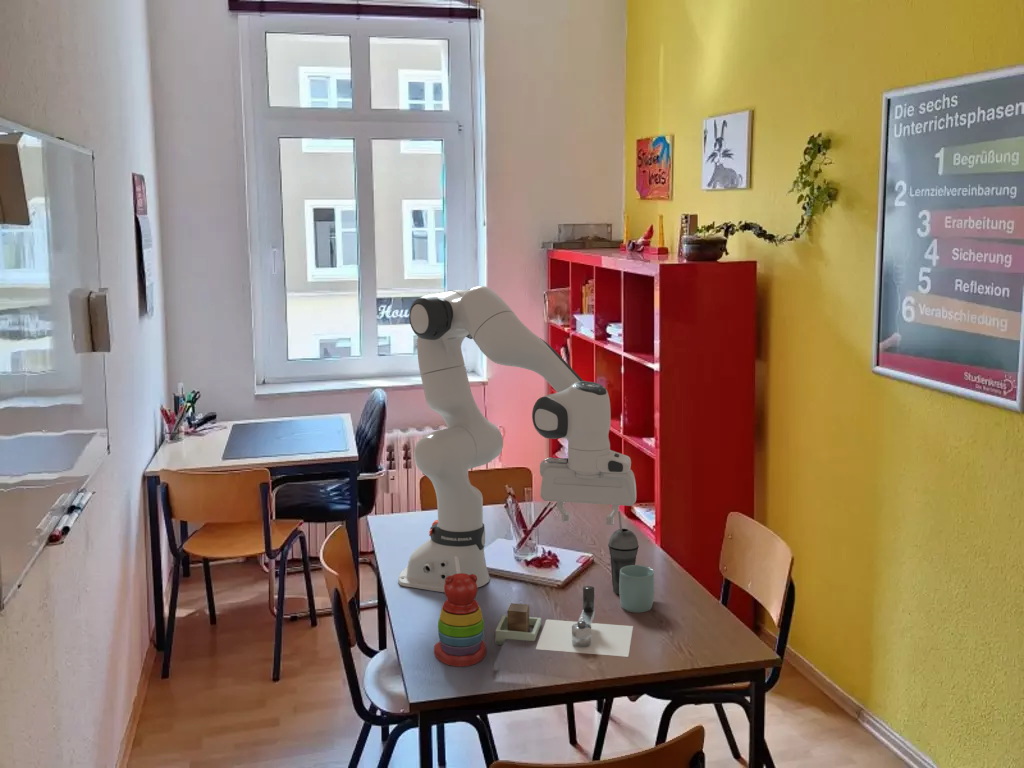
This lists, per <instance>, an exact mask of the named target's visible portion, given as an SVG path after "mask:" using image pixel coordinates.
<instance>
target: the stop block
mask: <svg viewBox="0 0 1024 768" xmlns="http://www.w3.org/2000/svg"><path fill="white" fill-rule="evenodd" d="M507 615H508V631H520V632H529V630H530V625H529V617H530V604H527V603H513V602H512V603H510V604H509V606H508V609H507Z"/></svg>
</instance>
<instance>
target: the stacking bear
mask: <svg viewBox="0 0 1024 768" xmlns="http://www.w3.org/2000/svg"><path fill="white" fill-rule="evenodd" d="M476 581H477V576H476V575H474V574H471V575H468V574H464V573H459V574H454V575H452V576H448V577H447V578H446V579H445V585H444V592H443V593H444V595H445V598H446V600H445V601H444V602H443V604H442V608H441V610H440V614H439V618H438V624H437V632H438V638H439V641H438V642H436V643H435V644H434V648H433V653H434V655H435V657H436V658H437V659H438V661H440V662H441V663H443V664H446V665H448V666H451V667H458V668H459V667H468V666H473V665H475V664H478V663H480V662H481V661H482V660H483V659H484V658H485V656H486V654H487V645H486V642H484V640H483V638H484V632H485V629H484V628H485V626H484V625H485V624H484V617H483V613H482V609H481V606H480V605H479V602H478V601H477V600H476V596H477V593H478V587H477V584H476Z"/></svg>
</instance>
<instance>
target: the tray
mask: <svg viewBox="0 0 1024 768" xmlns="http://www.w3.org/2000/svg"><path fill="white" fill-rule="evenodd" d="M541 625H542V617H535V616H534V617H533V616H529V626H533V629H532V631H531V632H530V631H528V632H520V631H508V614H503V615H502V617H501V618H500V620H499V623H498V625H497V627H496V629H495V631H494V632H495V635H494V637H495V642H494V643H495V645H499V646H503V645H504V644H505V641H506V640H518V641H530V642H531V641H532V642H535V641H536V639H537V636H538V633H539V630H540V628H541Z"/></svg>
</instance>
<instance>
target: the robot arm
mask: <svg viewBox="0 0 1024 768" xmlns="http://www.w3.org/2000/svg"><path fill="white" fill-rule="evenodd" d="M408 315H409V316H408V319H409V325H410V326H411V327H410V328H411V329H412V331H413V332H414V334H415V335H416V336H417V339H416V340H417V341H416V344H417V345H416V350H417V361H418V368H419V374H420V378H421V383H422V387H423V392H424V397H425V401H426V405H427V406H428V407H429V409H430V410H432V411H434V412H435V413H438V414H439V416H440V417H442V419H443V421H444V422H445V425H446V428H443V429H438V430H435V431H432V432H430V433H429V434H427V435H425V436H423V437H421V438H420V439H419V440H417V442H416V444H415V447H414V450H413V451H414V452H413V459H414V462H415V465H416V467H417V468H418V471H420V473H422V474H423V475H425V476H426V477H427V478H428V479H429V480H430V482H431V484H432V485H433V488H434V492H435V496H436V502H437V503H436V505H437V519H435V520H434V521H433V523H432V524H431V527H430V528H429V531H428V532H429V533H428V535H429V536H430V538H429V539H428V540H426V541H425V542H423V543H422V544H420V545H419V546H418V547H417V548H416V549H415V550H413V552H412V553H411V554H410V556H409V560H408V564H407V566H406V567H405V568H403V569H402V571H401V572H400V573H399V575H398V584H399V585H400V586H403V587H409V588H412V589H413V588H414V589H419V590H420V589H421V590H426V591H427V590H428V591H433V592H439V593H445V592H444V585H445V579H446V578H447V577H448V576H452V575H454V574H459V573H464V574H468V575H471V574H474V575H476V576H477V581H476V584H477V588H480V587H482V586H485V585H487V583H489V582H490V574H489V571H488V567H487V562H486V556H485V555H486V554H485V546H486V545H485V544H486V530H485V523H484V507H483V504H484V499H483V494H482V492H481V491H480V490H479V489H478V488H477V487H476V486H473V484H471V481H470V478H469V470H470V469H474V468H478V467H481V466H485V465H486V464H489V463H490V462H492V461H493V460H495V459H496V458H498V457H499V456H500V454H501V453H502V450H503V448H504V438H503V433H502V432H501V431H500V429H499V428H498V426H497V425H496V424H494V423H493V422H491V421H489V420H488V419H487V418H486V416H484V414H483V413H482V411H481V410H480V408H479V406H478V404H477V403H476V401H475V398H474V396H473V393H472V389H471V385H470V381H469V376H468V373H467V369H466V363H465V359H464V356H463V352H462V344H463V341H464V339H465V338H467V339H469V340H473V341H474V343H475V345H477V347H478V348H479V350H480V351H481V352H482V353H483V355H484V356H485V357H487V358H488V359H489V360H490V361H492V363H495V364H497V365H501V366H506V367H507V366H508V367H513V368H514V367H515V368H520V369H526V370H528V371H532V372H534V373H536V374H538V375H540V376H541V377H543V379H544V380H545V381H546V382H547V383H548V384H549V385H550V386H551V387H552V388H553V390H555V392H553V393H550V394H546V395H544V396H541V397H539V398H538V399H537V400H536V401H535V403H534V404H533V407H532V413H531V417H532V418H531V419H532V425H533V426H534V429H535V430H536V432H537V433H538V434H539V435H540V436H541V437H543V438H545V439H553V440H555V439H565V440H567V458H566V457H557V458H556V457H547V458H546V459H543V460H542V461H541V462H540V464H539V474H540V476H541V477H542V478H541V484H540V491H539V492H540V493H539V494H540V498H541V499H542V501H544V502H556V507H557V509H558V511H559V513H560V514H561V523H569V522H570V519H571V515H570V514H571V513H570V512H569V511H566V509H565V507H564V505H565V503H574V504H575V503H576V504H592V505H609V506H610V505H611V510H612V512H611V513H609V514H606V517H605V520H606V522H605V524H606V525H611V526H613V525H614V523H615V522H614V521H615V516H616V514H617V513H618V511H620V506H626V507H627V506H628V507H629V506H630V507H631V506H633V505H634V504H635V503H636V501H637V484H636V478H635V473H634V472H633V470H632V469H631V466H632V460H631V457H630V456H628V455H626V454H623V453H621V452H617V451H615V450H612V449H611V442H610V438H609V433H610V429H611V424H612V422H611V419H612V418H611V417H612V416H611V415H612V414H611V413H612V412H611V401H610V396H609V392H608V389H607V388H606V387H605V386H603V385H602V384H601V383H597V382H593V381H587V380H583V379H582V377H581V376H579V374H578V373H577V372H576V371H575V370H574V369H573V368H572V367H571V366H570V365H569V363H568V362H566V360H564V358H563V357H562V356H561V355H560V354H559V353H558V352H557V351H556V350H555V349H554V347H552V346H551V345H550V344H548V342H547V341H545V340H544V339H542V338H541V337H539V336H538V335H536V334H535V333H534V332H532V330H530V329H529V327H528V326H526V325H525V324H524V323H523V322H522V321H521V319H519V317H518V316H517V315H516V313H515V312H514V311H513V309H512V308H511V307H510V305H508V304H507V303H506V301H505V300H504V299H503V298H502V297H500V296H499V295H498V293H496V291H494V290H493V289H491V288H490V287H488V286H486V285H478V286H474V287H472V288H470V289H469V288H468V289H452V290H448V291H443V292H438V293H435V294H434V293H433V294H426V295H422V296H420V297H418V298H416V299H415V300H414V301H413V302H412V304H411V305H410V309H409V314H408Z"/></svg>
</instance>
